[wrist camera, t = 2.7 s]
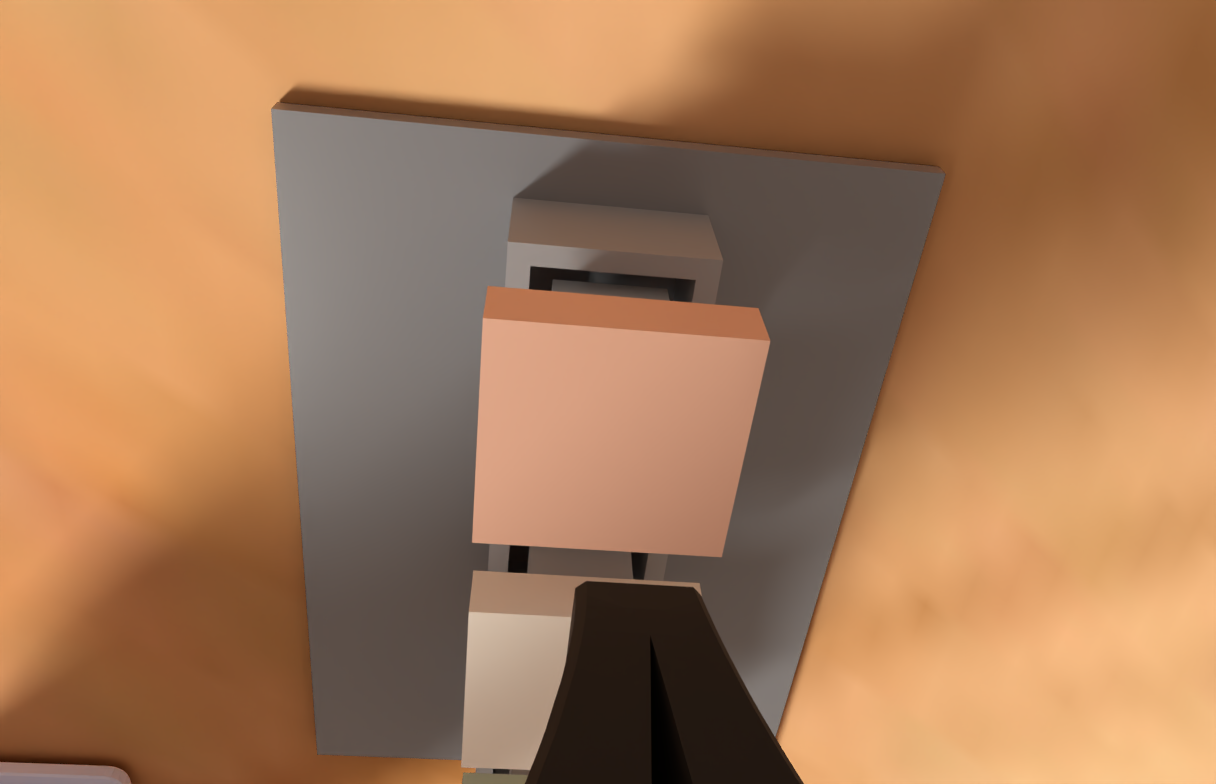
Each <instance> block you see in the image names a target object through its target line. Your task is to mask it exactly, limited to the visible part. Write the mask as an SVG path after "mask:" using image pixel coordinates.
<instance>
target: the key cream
mask: <svg viewBox="0 0 1216 784" xmlns="http://www.w3.org/2000/svg"><path fill="white" fill-rule="evenodd" d="M585 581H597V582H614V583H632V584H649V585H667V586H684V587H694V588H695V589H696V590H697V591H698V593H699V594H700V595H701V596H702V594H701V589H700V583H689V582H671V581H653V580H635V579H633V571H632V559H631V552H623V551H606V550H589V549H572V548H554V547H537V546H529V554H528V565H527V573H509V572H491V571H474V570H473V579H472V588H471V596H470V605H469V617H468V637H467V658H466V679H465V700H464V721H463V741H462V762H461V767H466V768H493V769H519V770H530V769H531V767H532V764H533V762H534V759H535V757H536V754H537V752H538V749H539V746H540V744H541V741H542V738H543V735H544V733H545V730H546V726H547V723H548V720H549V717H550V714H551V711H552V707H553V704H554V701H555V698H556V695H557V692H558V689H559V685H560V682H561V679H562V675H563V671H564V667H565V663H566V656H567V648H568V640H569V632H570V625H571V617H572V609H573V601H574V593H575V588H576V587H577V586H579V585H581V584H582V583H584V582H585Z"/></svg>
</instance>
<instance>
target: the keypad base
mask: <svg viewBox="0 0 1216 784" xmlns="http://www.w3.org/2000/svg"><path fill="white" fill-rule="evenodd" d="M271 112H272V126H273V140H274V154H275V168H276V182H277V196H278V210H279V224H280V238H281V252H282V266H283V280H284V294H285V308H286V322H287V336H288V350H289V364H290V379H291V393H292V407H293V421H294V435H295V449H296V463H297V477H298V491H299V505H300V519H301V533H302V547H303V561H304V575H305V589H306V603H307V617H308V631H309V645H310V659H311V673H312V687H313V701H314V715H315V729H316V743H317V755H343V756H369V757H395V758H421V759H447V760H462V741H463V721H464V700H465V679H466V658H467V637H468V617H469V605H470V596H471V588H472V579H473V570H474V571H491V572H509V573H527V565H528V554H529V546H520V545H503V544H486V543H472V533H473V513H474V492H475V471H476V450H477V429H478V409H479V388H480V367H481V346H482V325H483V314H484V307H485V300H486V294H487V287H488V286H495V287H507V288H520V289H532V290H544V291H552V282H553V279H555V280H567V281H579V282H591V283H603V284H615V285H627V286H639V287H651V288H663V289H667V290H668V295H669V300H670V301H678V302H690V303H702V304H714V305H727V306H739V307H751V308H759V311H760V314H761V316H762V319H763V322H764V325H765V327H766V330H767V333H768V335H769V338H770V345H769V350H768V354H767V359H766V363H765V367H764V372H763V376H762V381H761V385H760V390H759V394H758V398H757V403H756V407H755V412H754V416H753V421H752V425H751V429H750V434H749V438H748V443H747V447H746V452H745V456H744V460H743V465H742V469H741V474H740V478H739V483H738V487H737V491H736V496H735V500H734V505H733V509H732V514H731V518H730V523H729V527H728V531H727V536H726V540H725V545H724V549H723V554H722V557H709V556H692V555H675V554H657V553H640V552H631V559H632V571H633V579H635V580H653V581H671V582H689V583H700V589H701V594H702V599H703V601H704V603H705V606H706V608H707V610H708V612H709V614H710V617H711V619H712V621H713V623H714V625H715V627H716V629H717V631H718V633H719V636H720V638H721V640H722V642H723V644H724V646H725V648H726V650H727V652H728V654H729V656H730V658H731V659H732V661H733V663H734V665H735V667H736V669H737V671H738V673H739V675H740V676H741V678H742V680H743V682H744V684H745V686H746V688H747V689H748V691H749V693H750V695H751V697H752V698H753V700H754V702H755V704H756V706H757V707H758V709H759V711H760V712H761V714H762V716H763V718H764V719H765V721H766V723H767V724H768V726H769V728H770V729H771V731H772V733H773V734H774V736H775V737H776V734H777V730H778V727H779V724H780V720H781V717H782V714H783V710H784V707H785V704H786V701H787V697H788V694H789V691H790V687H791V684H792V681H793V677H794V674H795V671H796V667H797V664H798V661H799V658H800V654H801V651H802V648H803V644H804V641H805V638H806V634H807V631H808V628H809V624H810V621H811V618H812V615H813V611H814V608H815V605H816V601H817V598H818V595H819V591H820V588H821V585H822V582H823V578H824V575H825V572H826V568H827V565H828V562H829V558H830V555H831V552H832V548H833V545H834V542H835V539H836V535H837V532H838V529H839V525H840V522H841V519H842V515H843V512H844V509H845V505H846V502H847V499H848V496H849V492H850V489H851V486H852V482H853V479H854V476H855V472H856V469H857V466H858V462H859V459H860V456H861V453H862V449H863V446H864V443H865V439H866V436H867V433H868V429H869V426H870V423H871V420H872V416H873V413H874V410H875V406H876V403H877V400H878V396H879V393H880V390H881V386H882V383H883V380H884V377H885V373H886V370H887V367H888V363H889V360H890V357H891V353H892V350H893V347H894V343H895V340H896V337H897V334H898V330H899V327H900V324H901V320H902V317H903V314H904V310H905V307H906V304H907V301H908V297H909V294H910V291H911V287H912V284H913V281H914V277H915V274H916V271H917V267H918V264H919V261H920V258H921V254H922V251H923V248H924V244H925V241H926V238H927V234H928V231H929V228H930V224H931V221H932V218H933V215H934V211H935V208H936V205H937V201H938V198H939V195H940V191H941V188H942V185H943V181H944V178H945V175H946V174H945V173H944V172H943V171H942V170H941V168H940V167H938V166H928V165H917V164H907V163H897V162H886V161H876V160H866V159H856V158H845V157H835V156H825V155H814V154H804V153H794V152H784V151H773V150H763V149H753V148H742V147H732V146H722V145H712V144H701V143H691V142H681V141H670V140H660V139H650V138H640V137H629V136H619V135H609V134H598V133H588V132H578V131H568V130H557V129H547V128H537V127H526V126H516V125H506V124H495V123H485V122H475V121H465V120H454V119H444V118H434V117H423V116H413V115H403V114H393V113H382V112H372V111H362V110H351V109H341V108H331V107H321V106H310V105H300V104H290V103H279V102H277V103H276V104H275V105H274V106H273V107H272V109H271ZM509 771H510V769H493V768H476V773H486V774H509Z"/></svg>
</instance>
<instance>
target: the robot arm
mask: <svg viewBox="0 0 1216 784" xmlns="http://www.w3.org/2000/svg"><path fill="white" fill-rule="evenodd" d="M0 784H131V781H130V778H129V776H128V774H127V773H126V772H124V771H123V770H122V769H119V768H117V767H113V766H100V765H72V764H45V763H17V762H0ZM525 784H804V783H803V782H802V780H801V779H800V777H799V775H798V774H797V772H796V771H795V769H794V767H793V766H792V764H791V763H790V761H789V760H788V758H787V756H786V755H785V753H784V751H783V750H782V748H781V746H780V745H779V743H778V741H777V739H776V738H775V736H774V734H773V733H772V731H771V729H770V728H769V726H768V724H767V723H766V721H765V719H764V718H763V716H762V714H761V712H760V711H759V709H758V707H757V706H756V704H755V702H754V700H753V698H752V697H751V695H750V693H749V691H748V689H747V688H746V686H745V684H744V682H743V680H742V678H741V676H740V675H739V673H738V671H737V669H736V667H735V665H734V663H733V661H732V659H731V658H730V656H729V654H728V652H727V650H726V648H725V646H724V644H723V642H722V640H721V638H720V636H719V633H718V631H717V629H716V627H715V625H714V623H713V621H712V619H711V617H710V614H709V612H708V610H707V608H706V606H705V603H704V601H703V599H702V596H701V595H700V594H699V593H698V591H697V590H696V589H695V588H694V587H684V586H667V585H649V584H632V583H614V582H597V581H585V582H584V583H582V584H581V585H579V586H577V587H576V588H575V593H574V601H573V609H572V617H571V625H570V632H569V640H568V648H567V656H566V663H565V667H564V671H563V675H562V679H561V682H560V685H559V689H558V692H557V695H556V698H555V701H554V704H553V707H552V711H551V714H550V717H549V720H548V723H547V726H546V730H545V733H544V735H543V738H542V741H541V744H540V746H539V749H538V752H537V754H536V757H535V759H534V762H533V764H532V767H531V769H530V772H529V774H528V777H527V779H526V782H525Z"/></svg>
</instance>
